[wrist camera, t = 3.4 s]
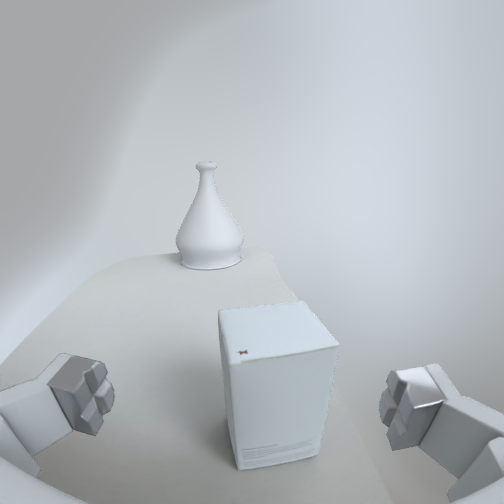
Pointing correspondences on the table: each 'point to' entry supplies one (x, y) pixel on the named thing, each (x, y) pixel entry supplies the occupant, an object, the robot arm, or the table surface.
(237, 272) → the table surface
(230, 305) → the table surface
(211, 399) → the table surface
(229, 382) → the white packaging box
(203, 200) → the vase
